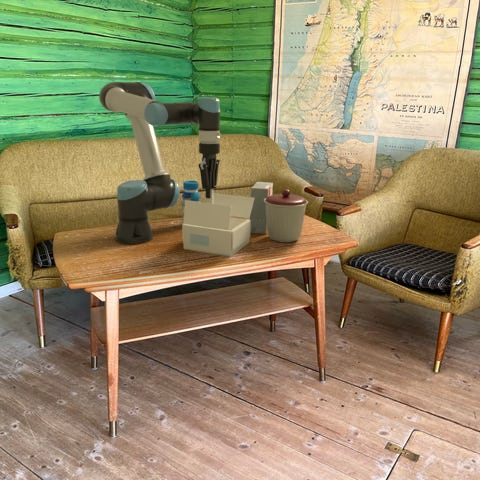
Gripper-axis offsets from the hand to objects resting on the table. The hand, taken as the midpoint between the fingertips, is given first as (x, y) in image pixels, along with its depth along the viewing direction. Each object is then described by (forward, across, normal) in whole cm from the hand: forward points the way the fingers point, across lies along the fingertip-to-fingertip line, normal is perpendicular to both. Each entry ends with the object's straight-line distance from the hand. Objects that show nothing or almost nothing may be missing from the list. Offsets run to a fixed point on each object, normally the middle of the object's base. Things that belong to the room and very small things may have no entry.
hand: (209, 206), depth 181 cm
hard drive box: (+18, +36, -7) cm, 41 cm away
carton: (+18, +6, 0) cm, 19 cm away
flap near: (+3, -2, 0) cm, 4 cm away
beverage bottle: (+18, +28, +23) cm, 40 cm away
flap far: (+4, +18, 0) cm, 19 cm away
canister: (+18, +27, -21) cm, 39 cm away
